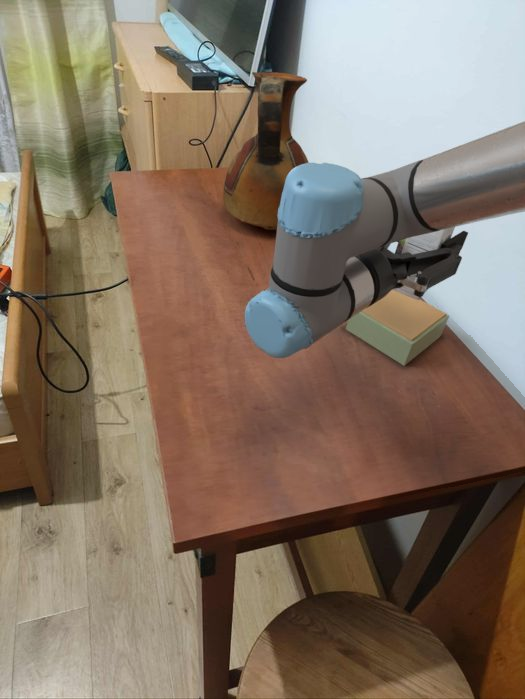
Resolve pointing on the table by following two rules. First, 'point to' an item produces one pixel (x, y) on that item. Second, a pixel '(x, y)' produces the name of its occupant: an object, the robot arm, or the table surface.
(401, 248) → the syrup box
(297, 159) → the ceramic pitcher
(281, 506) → the table surface
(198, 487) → the table surface
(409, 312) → the stand
